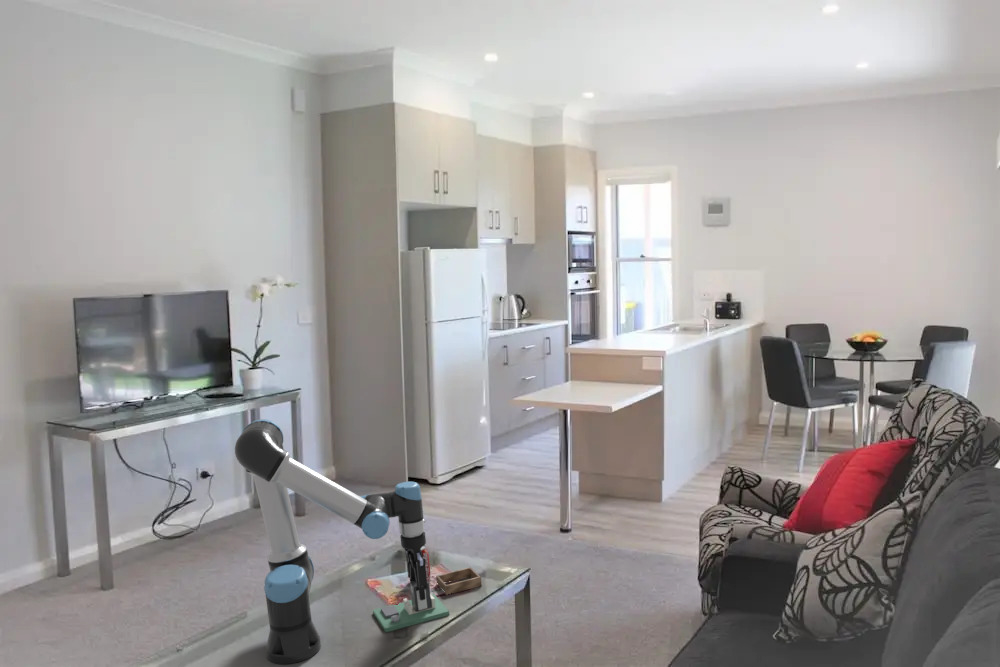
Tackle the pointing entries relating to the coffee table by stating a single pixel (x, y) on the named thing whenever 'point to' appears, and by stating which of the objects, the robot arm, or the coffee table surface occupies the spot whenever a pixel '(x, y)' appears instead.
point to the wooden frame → (457, 576)
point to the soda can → (427, 564)
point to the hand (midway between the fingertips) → (420, 605)
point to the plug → (414, 596)
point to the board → (408, 614)
